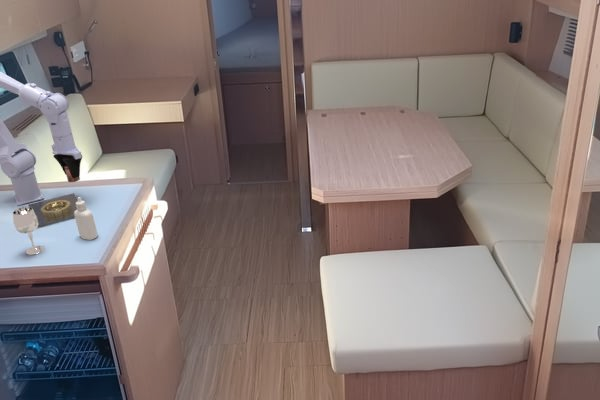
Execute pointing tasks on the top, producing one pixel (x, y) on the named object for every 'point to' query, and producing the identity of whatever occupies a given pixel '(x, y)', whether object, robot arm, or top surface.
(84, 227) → the eye dropper bottle
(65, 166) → the round knob
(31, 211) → the wineglass
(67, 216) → the collar plate
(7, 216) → the top surface
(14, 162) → the robot arm
